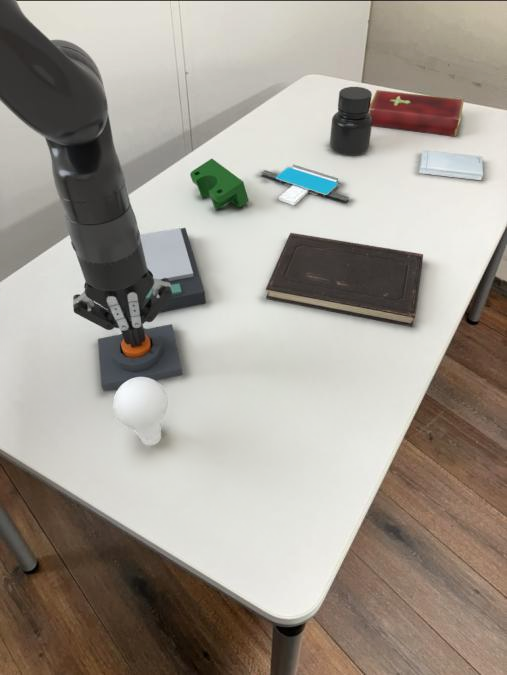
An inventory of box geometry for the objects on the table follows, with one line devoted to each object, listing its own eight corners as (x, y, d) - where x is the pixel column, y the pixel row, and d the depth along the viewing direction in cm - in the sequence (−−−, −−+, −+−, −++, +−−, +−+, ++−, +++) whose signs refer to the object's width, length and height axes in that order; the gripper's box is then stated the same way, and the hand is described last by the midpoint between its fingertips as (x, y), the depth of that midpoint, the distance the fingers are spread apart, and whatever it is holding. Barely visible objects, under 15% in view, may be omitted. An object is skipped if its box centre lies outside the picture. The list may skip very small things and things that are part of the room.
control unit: (103, 391, 70) (98, 378, 68) (100, 345, 76) (95, 331, 74) (182, 374, 72) (180, 360, 70) (173, 330, 78) (170, 316, 76)
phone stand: (245, 188, 105) (244, 181, 104) (276, 164, 112) (276, 157, 110) (331, 218, 97) (331, 211, 96) (359, 190, 104) (360, 182, 102)
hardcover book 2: (455, 137, 118) (461, 119, 115) (365, 126, 123) (368, 108, 120) (459, 115, 126) (464, 98, 123) (374, 105, 131) (376, 88, 128)
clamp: (206, 212, 107) (184, 173, 102) (229, 197, 108) (208, 158, 103) (229, 220, 97) (206, 177, 92) (253, 203, 98) (232, 159, 93)
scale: (111, 321, 79) (106, 306, 77) (104, 253, 91) (99, 237, 89) (206, 303, 82) (204, 287, 79) (187, 238, 94) (184, 223, 91)
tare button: (125, 364, 71) (122, 356, 70) (122, 343, 74) (120, 335, 72) (153, 358, 72) (151, 349, 70) (150, 338, 74) (148, 329, 73)
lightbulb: (121, 431, 66) (101, 378, 58) (166, 413, 67) (152, 358, 59) (136, 469, 62) (117, 418, 54) (183, 448, 64) (171, 396, 56)
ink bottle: (370, 139, 119) (378, 85, 110) (370, 157, 113) (379, 102, 104) (328, 137, 120) (332, 83, 111) (326, 155, 114) (331, 100, 105)
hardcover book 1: (412, 327, 77) (415, 316, 75) (266, 298, 82) (265, 288, 80) (420, 262, 87) (423, 252, 86) (290, 241, 92) (290, 230, 91)
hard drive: (482, 155, 109) (423, 148, 112) (483, 174, 104) (420, 166, 106) (480, 162, 110) (421, 155, 113) (480, 181, 105) (419, 174, 108)
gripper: (160, 213, 62) (178, 314, 75) (48, 231, 60) (86, 332, 73) (169, 249, 57) (187, 351, 70) (47, 271, 55) (89, 372, 68)
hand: (135, 342), depth 71 cm, fingers closed
